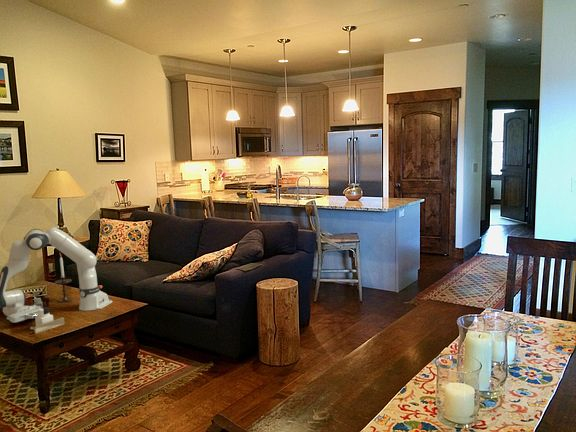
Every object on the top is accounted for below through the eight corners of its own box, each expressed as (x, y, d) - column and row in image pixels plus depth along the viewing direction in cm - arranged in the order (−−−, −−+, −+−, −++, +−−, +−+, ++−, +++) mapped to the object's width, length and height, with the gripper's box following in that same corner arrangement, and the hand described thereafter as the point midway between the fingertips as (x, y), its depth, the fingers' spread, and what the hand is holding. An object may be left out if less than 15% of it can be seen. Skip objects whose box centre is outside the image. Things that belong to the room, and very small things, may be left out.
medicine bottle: (47, 324, 293) (45, 305, 291) (54, 326, 289) (52, 307, 287) (36, 328, 287) (34, 308, 285) (43, 330, 283) (41, 310, 281)
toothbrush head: (33, 294, 346) (42, 296, 327) (34, 303, 346) (44, 306, 327) (25, 295, 342) (34, 298, 324) (26, 304, 343) (35, 307, 324)
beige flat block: (25, 330, 283) (24, 324, 282) (53, 321, 298) (53, 314, 298) (36, 333, 277) (35, 327, 277) (64, 324, 292) (63, 317, 292)
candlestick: (53, 302, 337) (48, 253, 332) (64, 297, 347) (59, 250, 342) (65, 303, 334) (61, 254, 329) (76, 298, 344) (72, 250, 339)
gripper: (4, 313, 290) (17, 316, 283) (37, 303, 307) (49, 306, 300) (5, 323, 291) (18, 327, 284) (37, 313, 308) (50, 316, 301)
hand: (34, 316), depth 292 cm, fingers closed
